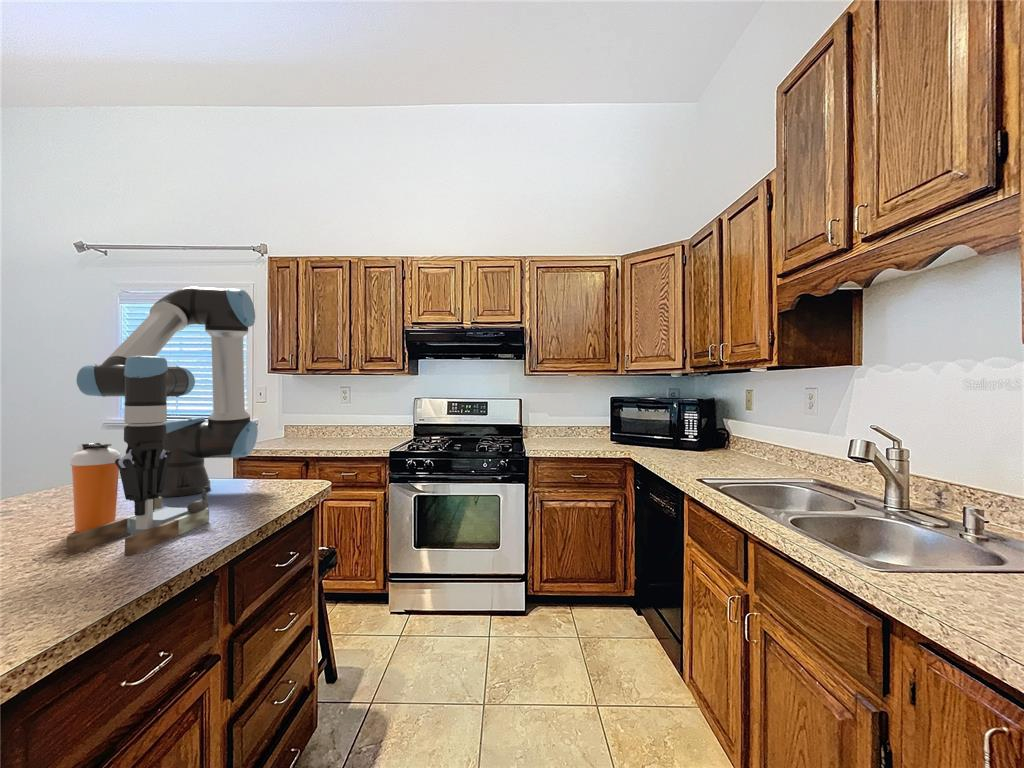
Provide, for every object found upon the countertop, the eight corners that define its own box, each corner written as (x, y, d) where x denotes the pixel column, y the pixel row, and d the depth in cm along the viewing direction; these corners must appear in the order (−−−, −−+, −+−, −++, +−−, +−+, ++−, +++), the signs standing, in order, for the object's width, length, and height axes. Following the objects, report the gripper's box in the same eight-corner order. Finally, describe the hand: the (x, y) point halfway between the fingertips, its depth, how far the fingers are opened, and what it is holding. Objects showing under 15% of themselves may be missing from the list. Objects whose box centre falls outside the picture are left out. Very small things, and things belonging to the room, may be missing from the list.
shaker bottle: (89, 535, 104) (90, 447, 104) (59, 532, 106) (60, 445, 106) (129, 523, 113) (130, 442, 113) (100, 520, 115) (101, 441, 115)
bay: (159, 519, 116) (159, 484, 116) (213, 521, 116) (213, 485, 116) (66, 553, 93) (67, 509, 93) (133, 555, 92) (134, 511, 92)
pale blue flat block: (165, 523, 115) (165, 506, 115) (196, 524, 114) (196, 507, 114) (129, 536, 105) (129, 518, 105) (163, 537, 104) (164, 519, 104)
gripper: (153, 421, 110) (152, 519, 110) (102, 426, 97) (101, 537, 97) (183, 422, 110) (182, 520, 110) (136, 427, 97) (135, 538, 97)
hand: (144, 528), depth 104 cm, fingers closed
